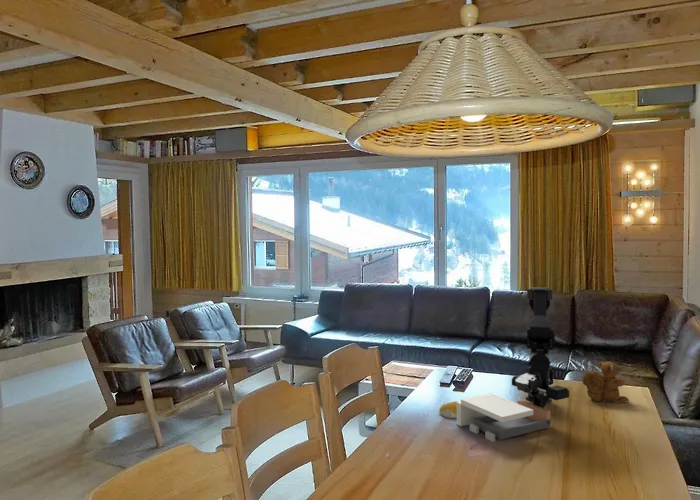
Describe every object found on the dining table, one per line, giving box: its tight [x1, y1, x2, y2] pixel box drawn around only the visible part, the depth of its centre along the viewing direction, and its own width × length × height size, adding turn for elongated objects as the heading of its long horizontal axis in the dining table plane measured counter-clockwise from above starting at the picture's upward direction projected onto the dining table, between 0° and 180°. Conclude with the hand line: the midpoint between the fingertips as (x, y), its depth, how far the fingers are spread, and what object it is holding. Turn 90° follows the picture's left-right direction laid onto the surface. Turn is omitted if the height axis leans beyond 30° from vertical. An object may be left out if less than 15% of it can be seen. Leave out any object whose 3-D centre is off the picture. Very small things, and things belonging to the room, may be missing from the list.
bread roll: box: [439, 401, 458, 419], centre depth 190 cm, size 8×9×4 cm
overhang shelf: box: [456, 392, 533, 443], centre depth 174 cm, size 12×20×8 cm, turn 28°
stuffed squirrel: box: [580, 361, 629, 403], centre depth 202 cm, size 10×14×13 cm
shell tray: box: [473, 399, 552, 440], centre depth 176 cm, size 20×12×5 cm, turn 118°
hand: (539, 413), depth 182 cm, fingers closed
